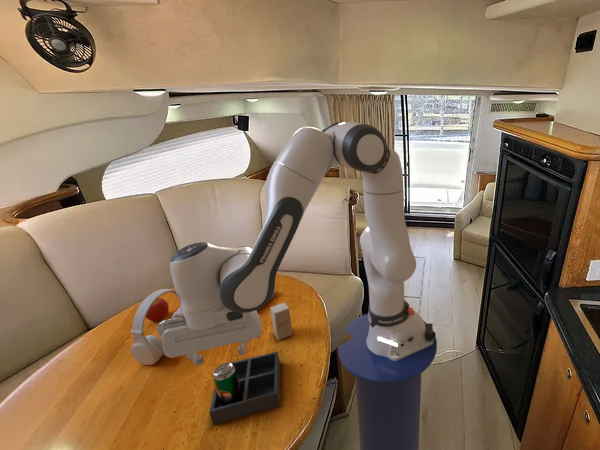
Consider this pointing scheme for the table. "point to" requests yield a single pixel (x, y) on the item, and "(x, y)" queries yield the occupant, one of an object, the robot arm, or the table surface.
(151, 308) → the apple
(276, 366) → the grid
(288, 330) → the box
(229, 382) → the soda can
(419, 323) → the robot arm
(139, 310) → the headphones
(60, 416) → the table surface
